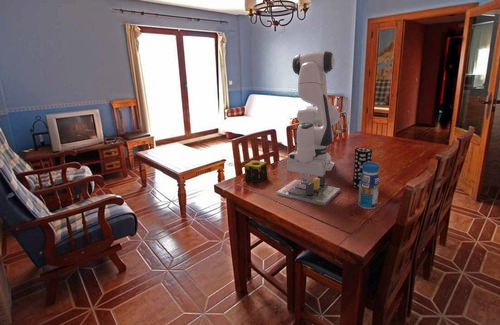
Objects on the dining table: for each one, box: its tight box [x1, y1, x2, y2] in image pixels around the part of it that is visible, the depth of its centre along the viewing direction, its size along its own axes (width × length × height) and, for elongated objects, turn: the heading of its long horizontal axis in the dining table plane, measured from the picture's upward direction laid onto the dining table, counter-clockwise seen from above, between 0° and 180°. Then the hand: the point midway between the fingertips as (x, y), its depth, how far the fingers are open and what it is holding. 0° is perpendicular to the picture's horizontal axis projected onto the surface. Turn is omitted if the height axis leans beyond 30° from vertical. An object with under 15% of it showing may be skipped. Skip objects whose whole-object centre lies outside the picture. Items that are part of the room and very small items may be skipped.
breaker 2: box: [311, 177, 320, 190], centre depth 146 cm, size 4×2×5 cm
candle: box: [244, 159, 268, 184], centre depth 171 cm, size 10×10×10 cm
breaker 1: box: [306, 182, 314, 195], centre depth 141 cm, size 4×2×5 cm
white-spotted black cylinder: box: [352, 147, 373, 190], centre depth 152 cm, size 8×8×20 cm
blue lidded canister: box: [357, 161, 381, 210], centre depth 130 cm, size 8×8×20 cm
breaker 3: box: [317, 174, 326, 185], centre depth 151 cm, size 4×2×5 cm
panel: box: [276, 179, 341, 207], centre depth 150 cm, size 20×26×3 cm
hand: (305, 181), depth 149 cm, fingers closed
